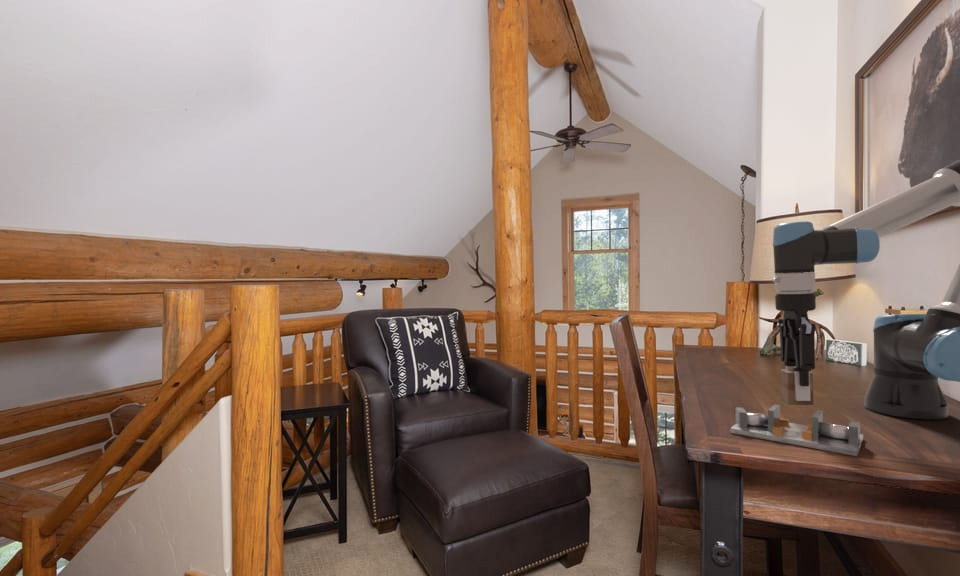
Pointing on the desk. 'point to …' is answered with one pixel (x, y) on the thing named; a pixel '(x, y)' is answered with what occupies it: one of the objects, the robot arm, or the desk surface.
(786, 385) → the block
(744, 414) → the shaft
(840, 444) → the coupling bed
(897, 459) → the desk surface
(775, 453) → the desk surface
